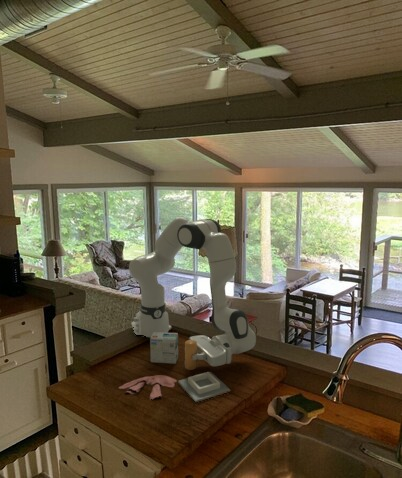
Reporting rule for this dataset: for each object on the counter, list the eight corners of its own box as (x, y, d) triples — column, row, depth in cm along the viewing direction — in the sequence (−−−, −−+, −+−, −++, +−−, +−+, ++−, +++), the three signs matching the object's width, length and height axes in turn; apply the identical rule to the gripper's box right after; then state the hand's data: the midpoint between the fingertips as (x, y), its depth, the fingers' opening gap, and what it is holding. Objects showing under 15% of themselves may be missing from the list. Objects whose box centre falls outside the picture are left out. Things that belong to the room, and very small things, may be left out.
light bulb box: (178, 356, 162) (178, 332, 160) (175, 364, 156) (175, 339, 154) (153, 354, 163) (153, 331, 161) (150, 362, 157) (149, 338, 155)
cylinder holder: (178, 383, 142) (178, 375, 141) (211, 374, 148) (211, 366, 148) (195, 403, 130) (195, 395, 129) (230, 392, 136) (230, 384, 136)
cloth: (183, 379, 146) (183, 373, 145) (161, 414, 125) (161, 407, 124) (134, 371, 151) (134, 365, 151) (105, 402, 131) (105, 396, 130)
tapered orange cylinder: (182, 365, 149) (183, 341, 148) (193, 362, 152) (193, 339, 150) (188, 370, 146) (188, 346, 144) (198, 367, 148) (198, 343, 146)
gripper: (207, 329, 162) (177, 335, 156) (233, 349, 144) (201, 357, 138) (206, 343, 163) (177, 349, 157) (232, 365, 145) (200, 373, 139)
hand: (188, 353), depth 147 cm, fingers closed on tapered orange cylinder, 4 cm apart
